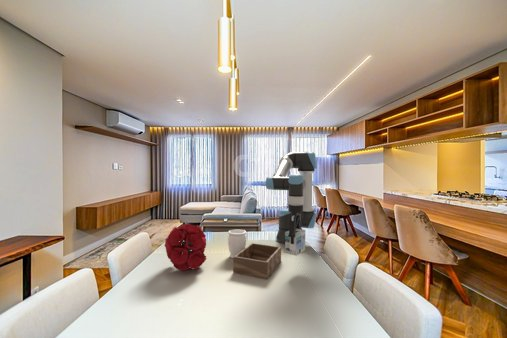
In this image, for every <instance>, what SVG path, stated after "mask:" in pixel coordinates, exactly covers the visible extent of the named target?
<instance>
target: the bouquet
mask: <svg viewBox="0 0 507 338" xmlns="http://www.w3.org/2000/svg"><path fill="white" fill-rule="evenodd" d="M164 247H165V251H166V256H167V258H168V259H169V261H170V262H171V264H173V267H174V268H175V269H176V270H179V271H188V270H189V269H191V270H196V269H197V270H198V269H199V267H201V266H203V264H204V263H205V262H206V260H207V255H205V250H206V247H207V237H206V234H205V233H204V231H203V229H201V227H200V225H198V224H196V225H192V224H190V223H185V224H181V225H179V226H174V227H173V228H172V229H171V230H170V232H169V234H168V235H167V237H166V238H165V241H164Z"/></svg>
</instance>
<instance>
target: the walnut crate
mask: <svg viewBox="0 0 507 338" xmlns="http://www.w3.org/2000/svg"><path fill="white" fill-rule="evenodd" d="M232 259H233V261H232V262H233V265H232V266H233V267H232V268H233V269H232V271H233V272H232V273H233V274H238V275H242V276H243V275H245V276H248V277H253V278H258V279H263V280H268V279H269V278H270V276H271V275H272V274H273V272H274V271H275V270H276V268H277V267H278V266H279V264H280V263H281V262H282V246H275V245H268V244H262V243H254V242H251V243H250V244H248V245H247V246H245V249H243V250H242V251H240V252H239V253H238V254H236V255H235V256H234V257H233V258H232Z"/></svg>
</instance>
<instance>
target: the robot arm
mask: <svg viewBox="0 0 507 338" xmlns="http://www.w3.org/2000/svg"><path fill="white" fill-rule="evenodd" d="M316 156H317V155H316V153H315V152H314V151H291V152H288V153H286V154H285V155H283V156H282V157H281V158H280V159H279V161H278V166H277V168H276V170H275V171H274V173H273V175H272V176H271V175H270V176H266V179H265V188H266V189H267V190H270V191H271V190H272V191H288V197H287V200H288V206H287V208H281V209H280V210H279V211H278V230H277V233H276V236H275V241H276V242H278V243H281V244H285V232H287V231H289V235H288V237H290V250H294V251H295V250H296V237H295V233H296V228H297V229H302V230H303V229H314V228H315V226H316V217H317V211H315V208H314V207H313V174H314V173H315V169H317V168H318V165H317V158H316ZM291 169H297V172H298V174H296V173H294V174H289V175H288V173H289V172H290V170H291ZM287 175H288V176H287ZM292 234H293V235H292Z"/></svg>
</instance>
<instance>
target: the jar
mask: <svg viewBox="0 0 507 338" xmlns="http://www.w3.org/2000/svg"><path fill="white" fill-rule="evenodd" d="M246 234H247V231H246V230H245V229H230V230H228V238H227V244H228V250H229V251H228V252H229V253H230V254H229V258H230V259H233V257H234V256H235V255H236V254H238V253H239V252H240V251H242V250H243V249H245V248H246V247H247V246H246V244H247V236H246Z"/></svg>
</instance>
